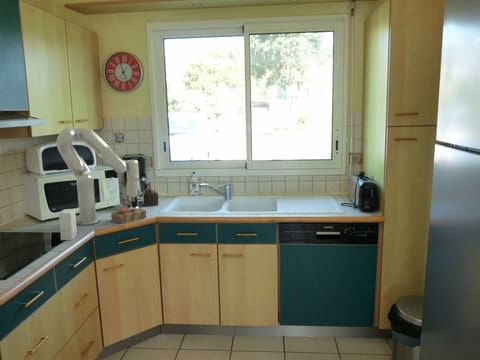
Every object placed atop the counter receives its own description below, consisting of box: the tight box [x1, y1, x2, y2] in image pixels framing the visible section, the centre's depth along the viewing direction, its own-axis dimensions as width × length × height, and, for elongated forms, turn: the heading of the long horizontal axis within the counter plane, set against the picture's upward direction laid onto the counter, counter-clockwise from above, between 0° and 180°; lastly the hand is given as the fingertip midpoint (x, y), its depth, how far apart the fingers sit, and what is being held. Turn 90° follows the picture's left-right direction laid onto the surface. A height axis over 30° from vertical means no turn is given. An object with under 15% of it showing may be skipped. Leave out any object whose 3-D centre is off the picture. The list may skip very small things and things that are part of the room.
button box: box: [110, 208, 147, 225], centre depth 258 cm, size 18×12×5 cm, turn 137°
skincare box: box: [58, 208, 78, 241], centre depth 220 cm, size 8×7×16 cm
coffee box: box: [121, 185, 132, 209], centre depth 286 cm, size 9×6×16 cm
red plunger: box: [117, 207, 126, 214], centre depth 254 cm, size 5×5×5 cm
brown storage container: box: [141, 182, 159, 207], centre depth 293 cm, size 16×11×18 cm
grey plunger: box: [131, 206, 140, 211], centre depth 261 cm, size 5×5×5 cm
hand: (135, 206), depth 260 cm, fingers closed
